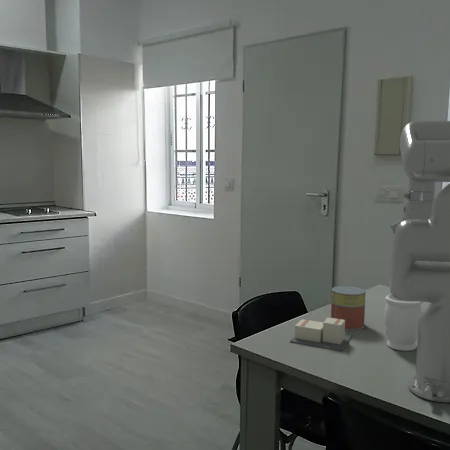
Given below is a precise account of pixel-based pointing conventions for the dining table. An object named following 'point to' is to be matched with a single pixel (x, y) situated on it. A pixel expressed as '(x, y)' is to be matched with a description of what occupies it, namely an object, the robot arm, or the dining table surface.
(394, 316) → the jar
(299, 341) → the mat
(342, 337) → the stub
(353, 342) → the dining table surface
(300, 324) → the cream striped box
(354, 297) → the canned food
